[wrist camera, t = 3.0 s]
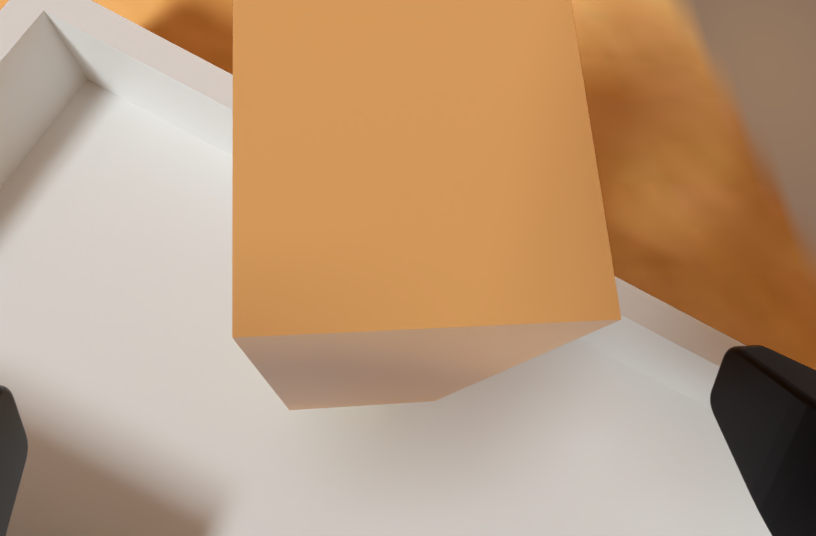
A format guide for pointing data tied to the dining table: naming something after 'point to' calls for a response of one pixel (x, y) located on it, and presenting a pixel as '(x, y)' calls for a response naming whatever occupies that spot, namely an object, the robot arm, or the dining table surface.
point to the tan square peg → (411, 195)
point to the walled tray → (240, 380)
